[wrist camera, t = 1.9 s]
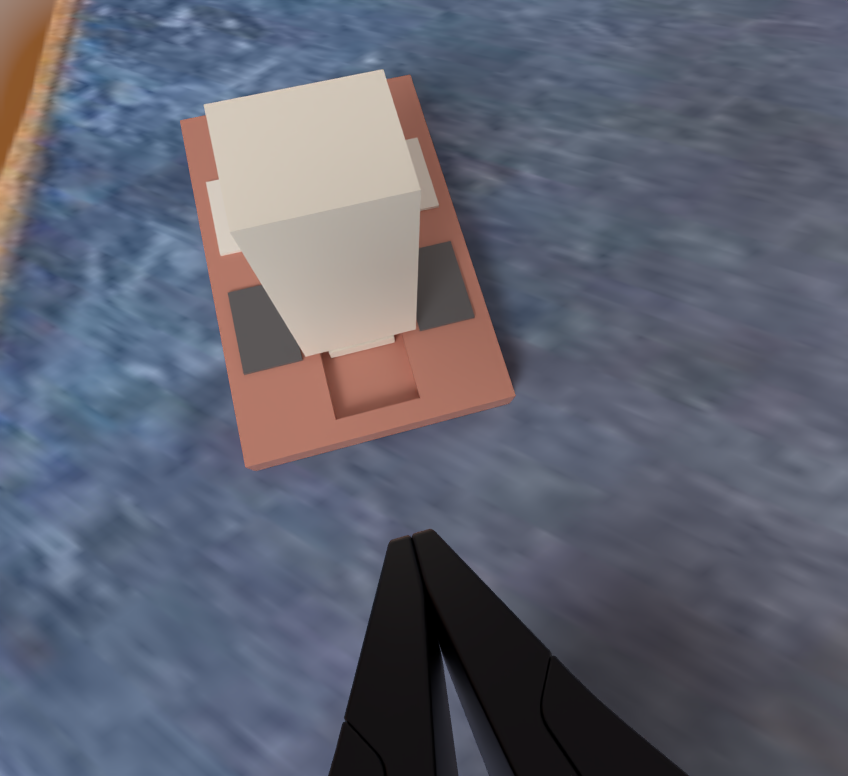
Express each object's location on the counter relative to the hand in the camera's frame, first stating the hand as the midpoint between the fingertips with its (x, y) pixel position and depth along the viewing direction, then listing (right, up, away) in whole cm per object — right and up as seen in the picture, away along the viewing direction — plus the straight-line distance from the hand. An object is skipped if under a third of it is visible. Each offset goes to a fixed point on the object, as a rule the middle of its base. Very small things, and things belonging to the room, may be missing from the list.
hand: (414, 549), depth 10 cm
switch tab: (-3, +6, +16) cm, 17 cm away
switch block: (-4, +9, +16) cm, 19 cm away
